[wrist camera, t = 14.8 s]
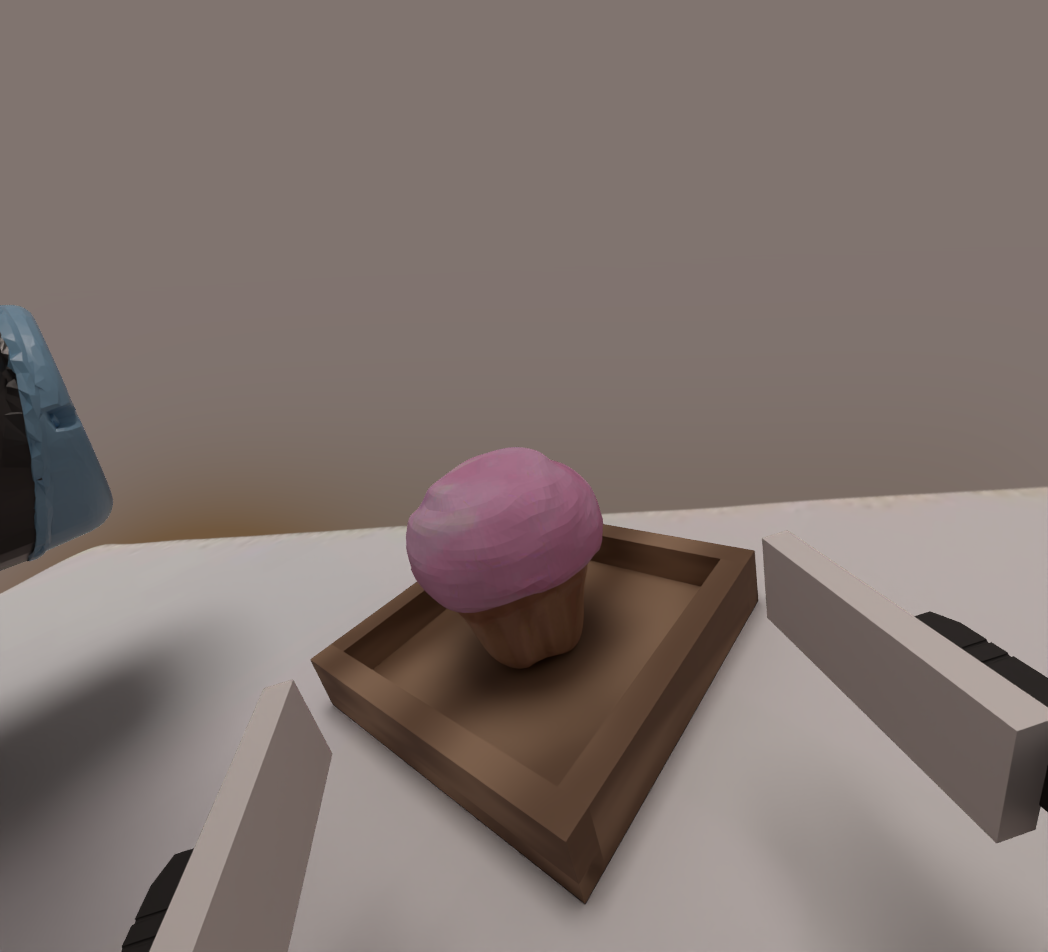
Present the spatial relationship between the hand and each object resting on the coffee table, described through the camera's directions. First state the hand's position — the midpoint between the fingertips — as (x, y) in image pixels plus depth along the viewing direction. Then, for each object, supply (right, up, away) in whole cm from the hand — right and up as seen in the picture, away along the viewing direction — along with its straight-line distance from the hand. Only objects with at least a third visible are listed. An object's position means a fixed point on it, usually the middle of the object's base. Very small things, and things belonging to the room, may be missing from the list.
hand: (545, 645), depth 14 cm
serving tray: (0, -5, +12) cm, 13 cm away
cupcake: (0, -4, +12) cm, 12 cm away
